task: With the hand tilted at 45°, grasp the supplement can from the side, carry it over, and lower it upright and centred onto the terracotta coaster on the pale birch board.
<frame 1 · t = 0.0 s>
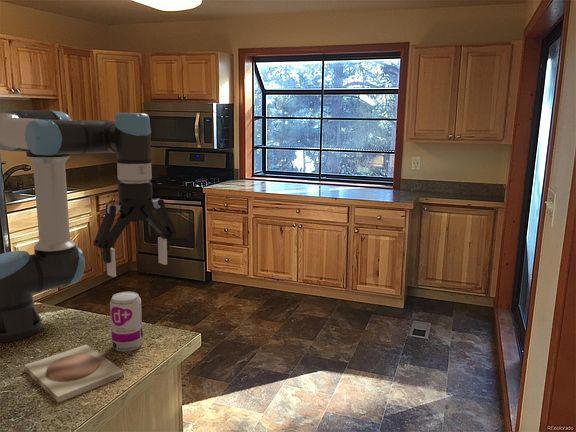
hand: (138, 269, 115), 28 cm above the counter, tool pointing down, fingers open, 13 cm apart
mount board: (73, 373, 121), on the counter
supplement can: (127, 346, 136), on the counter
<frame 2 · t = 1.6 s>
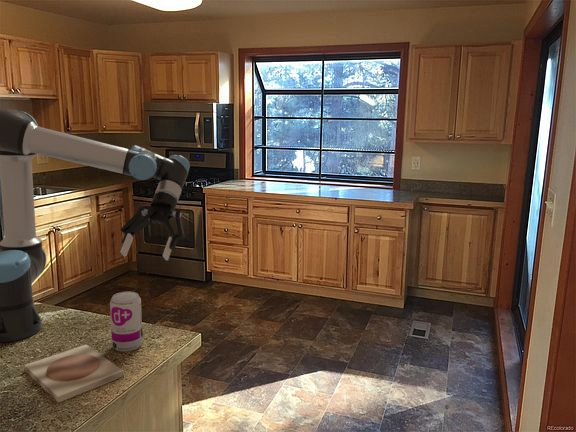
hand: (143, 256, 141), 23 cm above the counter, tool tilted 45°, fingers open, 13 cm apart
nothing on the counter moved.
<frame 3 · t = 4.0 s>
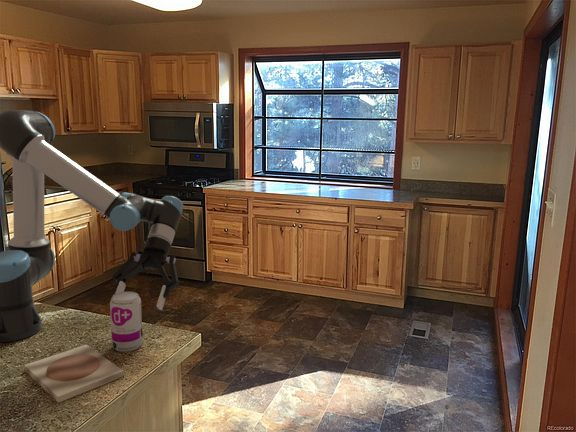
hand: (136, 306, 137), 11 cm above the counter, tool tilted 45°, fingers open, 13 cm apart
nothing on the counter moved.
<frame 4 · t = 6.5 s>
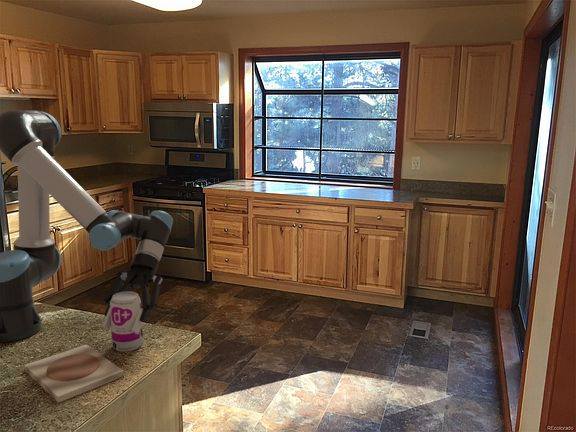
hand: (120, 330, 131), 6 cm above the counter, tool tilted 45°, fingers closed on supplement can, 8 cm apart
supplement can: (127, 346, 136), on the counter, touching gripper
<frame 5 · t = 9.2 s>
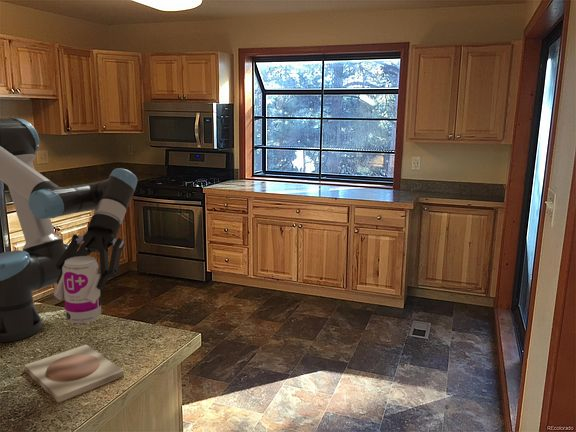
hand: (74, 299, 116), 20 cm above the counter, tool tilted 45°, fingers closed on supplement can, 8 cm apart
supplement can: (84, 318, 120), point 14 cm above the counter, touching gripper
when the fingers open (10 cm above the counter, at t = 12.3 s): supplement can drops 2 cm, resting on mount board.
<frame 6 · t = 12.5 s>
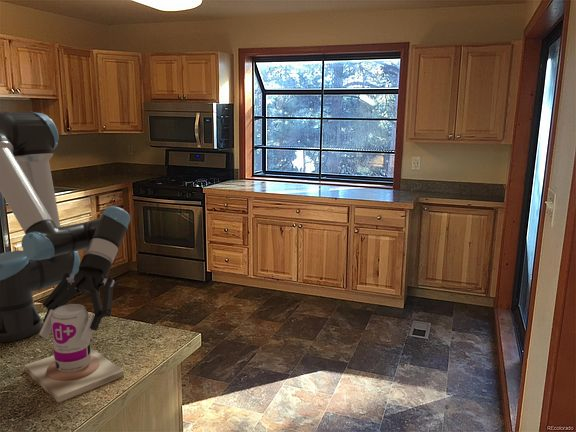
hand: (63, 339, 116), 11 cm above the counter, tool tilted 45°, fingers open, 10 cm apart
supplement can: (73, 366, 120), point 2 cm above the counter, touching mount board
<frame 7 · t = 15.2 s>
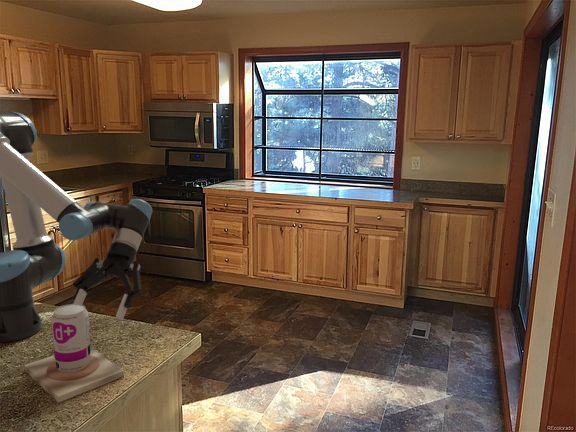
hand: (96, 315, 128), 11 cm above the counter, tool tilted 45°, fingers open, 13 cm apart
nothing on the counter moved.
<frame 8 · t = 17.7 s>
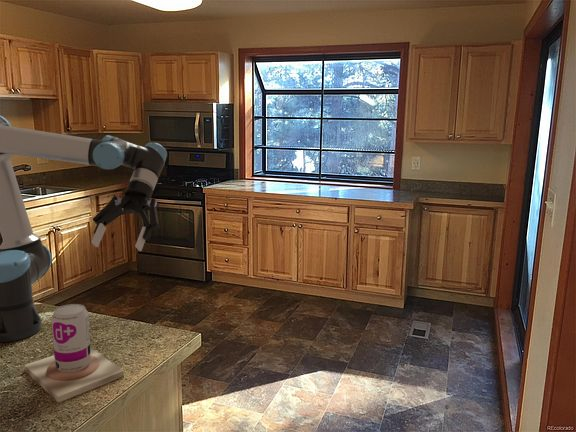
hand: (116, 246, 135), 28 cm above the counter, tool tilted 45°, fingers open, 13 cm apart
nothing on the counter moved.
at the end: supplement can inside the target area on the mount board (0.1 cm from its centre), point 1.9 cm above the mount board's base; supplement can tilted 0°; the gripper is holding nothing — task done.
